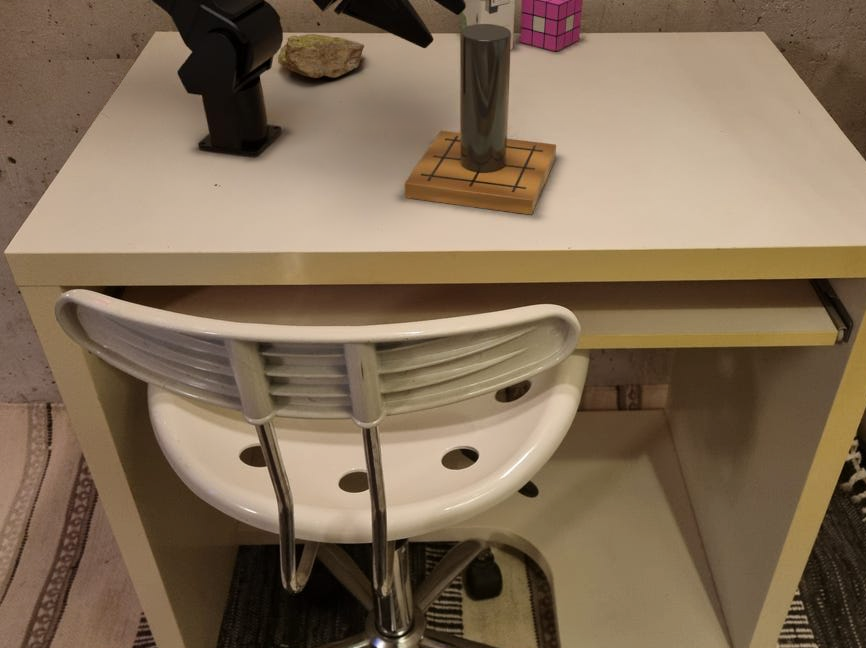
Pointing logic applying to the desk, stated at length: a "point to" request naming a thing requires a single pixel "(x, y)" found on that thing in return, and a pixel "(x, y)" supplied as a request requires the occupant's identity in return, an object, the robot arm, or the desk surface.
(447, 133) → the game board
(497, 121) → the black round pillar
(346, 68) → the rock
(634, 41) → the desk surface
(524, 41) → the puzzle toy
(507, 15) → the ink box
